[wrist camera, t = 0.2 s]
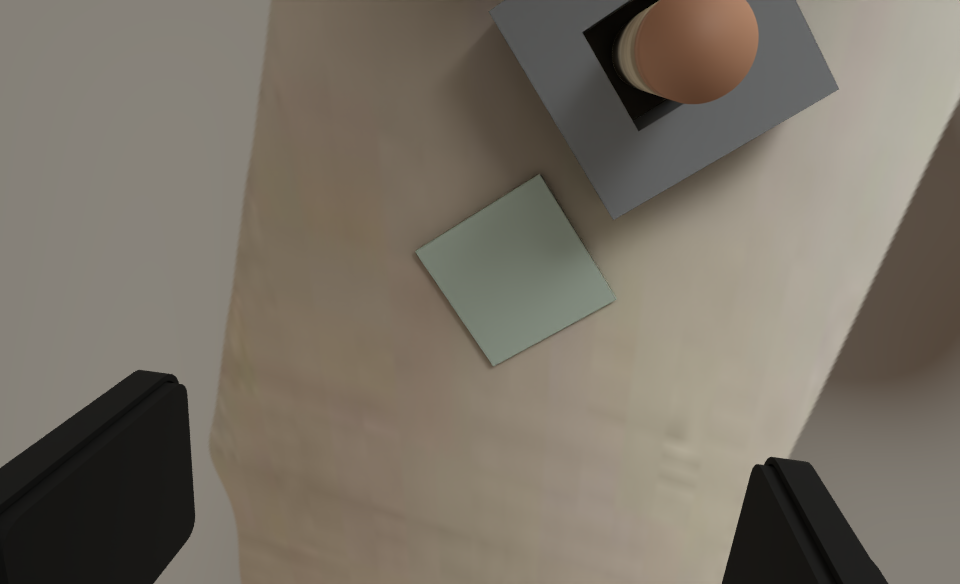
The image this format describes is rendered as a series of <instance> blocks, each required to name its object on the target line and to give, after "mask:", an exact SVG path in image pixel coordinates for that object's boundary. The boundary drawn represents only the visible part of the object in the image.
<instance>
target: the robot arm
mask: <svg viewBox="0 0 960 584" xmlns="http://www.w3.org/2000/svg"><path fill="white" fill-rule="evenodd" d="M194 522H195V508H194V491H193V476H192V460H191V445H190V429H189V414H188V399H187V390H186V388H185V386H184V385H182V384H179V382H178V380H177V378H176V377H175V376H174V375H172V374H166V373H159V372H151V371H143V370H138V371H135V372H133V373H132V374H131V375H129V376H128V377H126V378H125V379H124V380H122V381H121V382H119V383H118V384H117V385H115V386H114V387H113V388H111V389H110V390H109V391H107V392H106V393H104V394H103V395H101V396H100V397H99V398H97V399H96V400H94V401H93V402H92V403H90V404H89V405H88V406H86V407H85V408H83V409H82V410H80V411H79V412H78V413H76V414H75V415H74V416H72V417H71V418H69V419H68V420H67V421H65V422H64V423H63V424H61V425H60V426H58V427H57V428H55V429H54V430H53V431H51V432H50V433H48V434H47V435H46V436H44V437H43V438H41V439H40V440H39V441H37V442H36V443H35V444H33V445H32V446H30V447H29V448H28V449H26V450H25V451H23V452H22V453H21V454H19V455H18V456H16V457H15V458H14V459H12V460H11V461H9V462H8V463H7V464H5V465H4V466H3V467H1V468H0V584H153V583H154V582H155V581H156V580H157V578H158V577H159V576H160V574H161V573H162V572H163V570H164V569H165V568H166V567H167V565H168V564H169V563H170V562H171V560H172V559H173V558H174V556H175V555H176V554H177V553H178V552H179V550H180V549H181V548H182V546H183V545H184V544H185V543H186V541H187V540H188V538H189V537H190V535H191V533H192V530H193V527H194ZM722 584H888V583H887V581H886V579H885V578H884V576H883V575H882V573H881V572H880V570H879V568H878V567H877V566H876V565H875V564H874V562H873V561H872V560H871V559H870V557H869V556H868V554H867V552H866V551H865V549H864V548H863V546H862V545H861V543H860V541H859V540H858V538H857V536H856V535H855V533H854V532H853V530H852V528H851V527H850V525H849V524H848V522H847V520H846V519H845V518H844V516H843V514H842V513H841V511H840V509H839V508H838V506H837V505H836V503H835V501H834V500H833V498H832V497H831V495H830V494H829V492H828V490H827V489H826V487H825V485H824V484H823V482H822V481H821V479H820V477H819V476H818V474H817V473H816V471H815V470H814V468H813V467H812V465H811V464H810V463H808V462H804V461H797V460H790V459H783V458H775V457H770V458H768V459H767V460H766V462H765V464H764V465H759V464H756V465H755V466H754V467H753V469H752V472H751V475H750V479H749V483H748V486H747V490H746V494H745V498H744V502H743V505H742V509H741V513H740V517H739V521H738V524H737V528H736V532H735V536H734V539H733V543H732V547H731V551H730V555H729V558H728V562H727V566H726V570H725V574H724V577H723V581H722Z"/></svg>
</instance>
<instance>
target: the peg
mask: <svg viewBox="0 0 960 584" xmlns="http://www.w3.org/2000/svg"><path fill="white" fill-rule="evenodd" d="M758 39H759V33H758V25H757V21H756V17H755V15H754V13H753V10H752V9H751V7H750V5H749V4H748V2H747V1H746V0H659V1H658V2H656V3H654V4H653V5H651V6H650V7H648V8H647V9H645V10H644V11H642V12H641V13H639V14H638V15H636V16H634V17H633V18H631V19H630V20H629V21H627V22H626V23H625V24H624V25H623V26H622V27H621V29H620V30H619V32H618V33H617V35H616V37H615V40H614V43H613V47H612V61H613V66H614V69H615V71H616V73H617V74H618V76H619V77H620V78H621V79H622V80H623V81H624V82H625V83H626V84H628V85H629V86H631V87H633V88H636V89H639V90H642V91H645V92H648V93H651V94H654V95H657V96H660V97H663V98H667V99H670V100H673V101H676V102H679V103H684V104H703V103H707V102H711V101H714V100H716V99H719V98H721V97H722V96H724V95H726V94H727V93H729V92H730V91H732V90H733V89H734V88H735V87H736V86H737V85H738V84H739V83H740V82H741V81H742V80H743V79H744V77H745V76H746V75H747V73H748V72H749V70H750V68H751V66H752V64H753V62H754V59H755V56H756V53H757V48H758Z"/></svg>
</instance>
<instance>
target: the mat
mask: <svg viewBox="0 0 960 584" xmlns="http://www.w3.org/2000/svg"><path fill="white" fill-rule="evenodd" d="M416 254H417V255H418V257H419V258H420V260H421V261H422V263H423V264H424V265H425V267H426V268H427V270H428V271H429V273H430V274H431V276H432V277H433V279H434V280H435V282H436V283H437V285H438V286H439V287H440V289H441V290H442V292H443V293H444V295H445V296H446V298H447V299H448V301H449V302H450V304H451V305H452V307H453V308H454V309H455V311H456V312H457V314H458V315H459V317H460V318H461V320H462V321H463V323H464V324H465V326H466V327H467V329H468V330H469V331H470V333H471V334H472V336H473V337H474V339H475V340H476V342H477V343H478V345H479V346H480V348H481V349H482V351H483V352H484V353H485V355H486V356H487V358H488V359H489V361H490V362H491V364H492V365H493V366H495V365H497V364H499V363H501V362H502V361H504V360H506V359H508V358H510V357H512V356H513V355H515V354H517V353H519V352H521V351H523V350H525V349H526V348H528V347H530V346H532V345H534V344H536V343H537V342H539V341H541V340H543V339H545V338H547V337H548V336H550V335H552V334H554V333H556V332H558V331H560V330H561V329H563V328H565V327H567V326H569V325H571V324H572V323H574V322H576V321H578V320H580V319H582V318H583V317H585V316H587V315H589V314H591V313H593V312H594V311H596V310H598V309H600V308H602V307H604V306H606V305H607V304H609V303H611V302H613V301H615V300H616V297H615V295H614V293H613V292H612V290H611V289H610V287H609V285H608V284H607V282H606V280H605V279H604V277H603V276H602V274H601V272H600V271H599V269H598V267H597V266H596V264H595V263H594V261H593V259H592V258H591V256H590V254H589V253H588V251H587V250H586V248H585V246H584V245H583V243H582V241H581V240H580V238H579V236H578V235H577V233H576V232H575V230H574V228H573V227H572V225H571V223H570V222H569V220H568V219H567V217H566V215H565V214H564V212H563V210H562V209H561V207H560V206H559V204H558V202H557V201H556V199H555V197H554V196H553V194H552V193H551V191H550V189H549V188H548V186H547V184H546V183H545V181H544V180H543V178H542V176H541V175H540V174H538V175H537V176H535V177H533V178H532V179H530V180H529V181H527V182H525V183H524V184H522V185H520V186H519V187H517V188H516V189H514V190H512V191H511V192H509V193H508V194H506V195H504V196H503V197H501V198H500V199H498V200H496V201H495V202H493V203H492V204H490V205H488V206H487V207H485V208H484V209H482V210H480V211H479V212H477V213H475V214H474V215H472V216H471V217H469V218H467V219H466V220H464V221H463V222H461V223H459V224H458V225H456V226H455V227H453V228H451V229H450V230H448V231H447V232H445V233H443V234H442V235H440V236H439V237H437V238H435V239H434V240H432V241H430V242H429V243H427V244H426V245H424V246H422V247H421V248H419V249H418V250H416Z"/></svg>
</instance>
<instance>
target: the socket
mask: <svg viewBox="0 0 960 584" xmlns="http://www.w3.org/2000/svg"><path fill="white" fill-rule="evenodd" d="M631 1H633V0H504V1H503V2H501V3H500V4H499V5H497V6H496V7H494V8H493V9H492V10H490V11H489V13H490V15H491V16H492V18H493V20H494V21H495V23H496V25H497V26H498V28H499V30H500V31H501V33H502V35H503V36H504V38H505V40H506V41H507V43H508V45H509V46H510V48H511V50H512V51H513V53H514V55H515V57H516V58H517V60H518V62H519V63H520V65H521V67H522V68H523V70H524V72H525V73H526V75H527V77H528V78H529V80H530V82H531V83H532V85H533V87H534V88H535V90H536V92H537V93H538V95H539V97H540V98H541V100H542V102H543V103H544V105H545V107H546V108H547V110H548V112H549V113H550V115H551V117H552V118H553V120H554V122H555V123H556V125H557V127H558V128H559V130H560V132H561V133H562V135H563V137H564V138H565V140H566V142H567V143H568V145H569V147H570V149H571V150H572V152H573V154H574V155H575V157H576V159H577V160H578V162H579V164H580V165H581V167H582V169H583V170H584V172H585V174H586V175H587V177H588V179H589V180H590V182H591V184H592V185H593V187H594V189H595V190H596V192H597V194H598V195H599V197H600V199H601V200H602V202H603V204H604V205H605V207H606V209H607V210H608V212H609V214H610V215H611V217H612V219H613V220H614V219H616V218H618V217H619V216H621V215H623V214H625V213H626V212H628V211H630V210H632V209H633V208H635V207H637V206H638V205H640V204H642V203H644V202H645V201H647V200H649V199H650V198H652V197H654V196H656V195H657V194H659V193H661V192H663V191H664V190H666V189H668V188H669V187H671V186H673V185H675V184H676V183H678V182H680V181H682V180H683V179H685V178H687V177H688V176H690V175H692V174H694V173H695V172H697V171H699V170H700V169H702V168H704V167H706V166H707V165H709V164H711V163H713V162H714V161H716V160H718V159H719V158H721V157H723V156H725V155H726V154H728V153H730V152H732V151H733V150H735V149H737V148H738V147H740V146H742V145H744V144H745V143H747V142H749V141H750V140H752V139H754V138H756V137H757V136H759V135H761V134H763V133H764V132H766V131H768V130H769V129H771V128H773V127H775V126H776V125H778V124H780V123H781V122H783V121H785V120H787V119H788V118H790V117H792V116H794V115H795V114H797V113H799V112H800V111H802V110H804V109H806V108H807V107H809V106H811V105H813V104H814V103H816V102H818V101H819V100H821V99H823V98H825V97H826V96H828V95H830V94H831V93H833V92H835V91H837V90H838V89H839V88H838V86H837V84H836V82H835V80H834V78H833V76H832V73H831V71H830V69H829V67H828V65H827V63H826V61H825V59H824V57H823V55H822V53H821V51H820V49H819V47H818V45H817V43H816V41H815V39H814V36H813V34H812V32H811V30H810V28H809V26H808V24H807V22H806V20H805V18H804V16H803V14H802V12H801V10H800V8H799V6H798V4H797V2H796V0H746V1H747V2H748V4H749V5H750V7H751V9H752V10H753V13H754V15H755V17H756V21H757V25H758V33H759V39H758V48H757V53H756V56H755V59H754V62H753V64H752V66H751V68H750V70H749V72H748V73H747V75H746V76H745V77H744V79H743V80H742V81H741V82H740V83H739V84H738V85H737V86H736V87H735V88H734V89H733V90H732V91H730V92H729V93H727V94H726V95H724V96H722V97H721V98H719V99H716V100H714V101H711V102H707V103H703V104H684V103H679V102H676V101H673V100H670V99H667V100H666V101H664V102H662V103H661V104H659V105H657V106H656V107H654V108H653V109H651V110H649V111H648V112H646V113H645V114H643V115H641V116H640V117H638V118H637V119H635V120H633V121H632V119H631V117H630V116H629V114H628V112H627V110H626V109H625V107H624V105H623V103H622V102H621V100H620V98H619V96H618V94H617V93H616V91H615V89H614V87H613V86H612V84H611V82H610V80H609V79H608V77H607V75H606V73H605V72H604V70H603V68H602V66H601V65H600V63H599V61H598V59H597V58H596V56H595V54H594V52H593V51H592V49H591V47H590V45H589V44H588V42H587V40H586V38H585V36H584V35H583V34H584V33H585V32H587V31H588V30H590V29H591V28H593V27H594V26H596V25H597V24H598V23H600V22H601V21H603V20H604V19H606V18H607V17H609V16H610V15H612V14H613V13H615V12H616V11H618V10H619V9H621V8H622V7H624V6H625V5H627V4H628V3H630V2H631Z"/></svg>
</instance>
